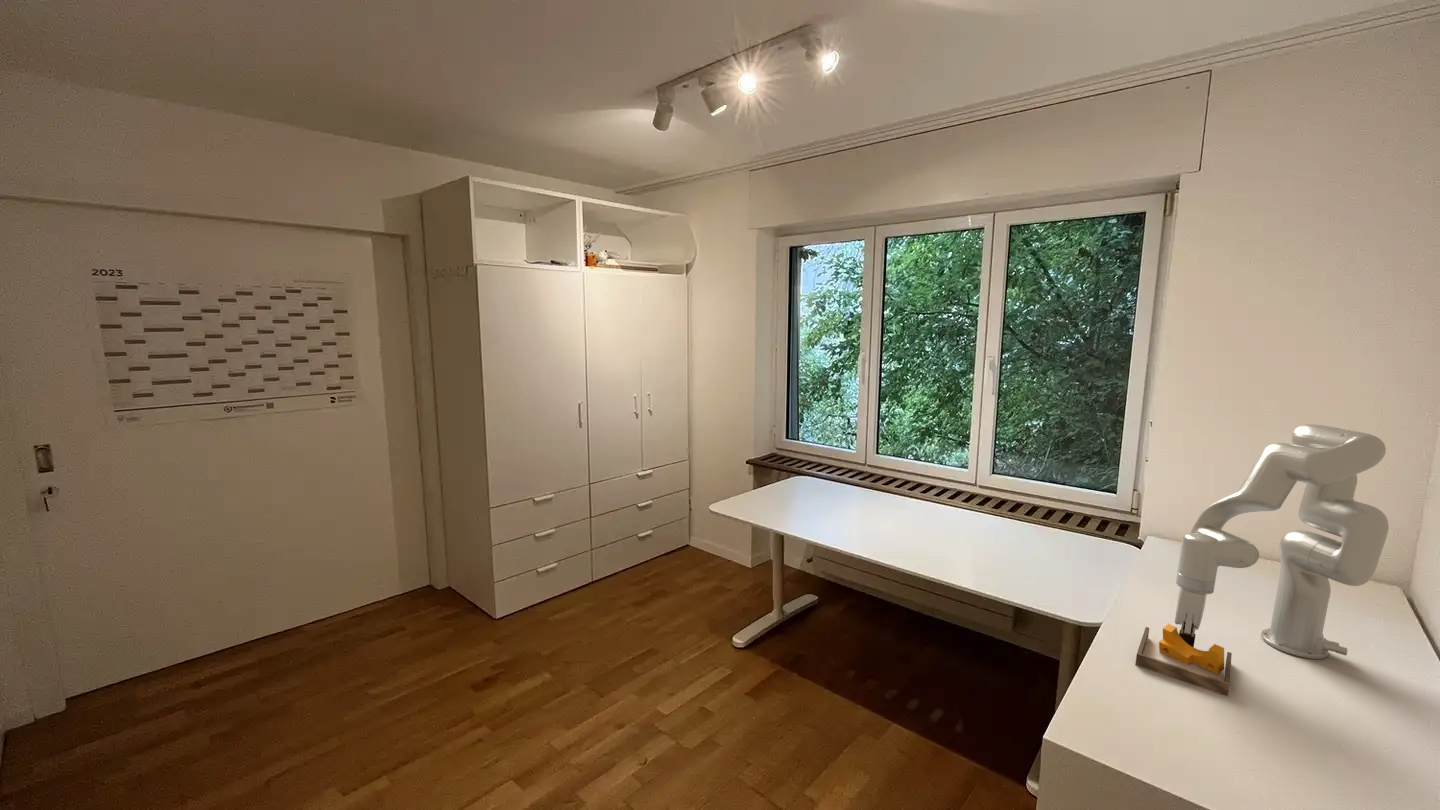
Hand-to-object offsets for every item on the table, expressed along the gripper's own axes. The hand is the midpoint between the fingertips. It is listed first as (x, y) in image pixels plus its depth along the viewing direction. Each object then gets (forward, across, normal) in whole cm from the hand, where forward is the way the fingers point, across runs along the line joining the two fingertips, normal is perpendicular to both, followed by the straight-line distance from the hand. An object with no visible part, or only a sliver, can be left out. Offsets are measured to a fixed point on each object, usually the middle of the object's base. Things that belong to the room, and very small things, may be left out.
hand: (1185, 646), depth 148 cm
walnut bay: (+2, +6, 0) cm, 7 cm away
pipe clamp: (+1, +4, +2) cm, 5 cm away
